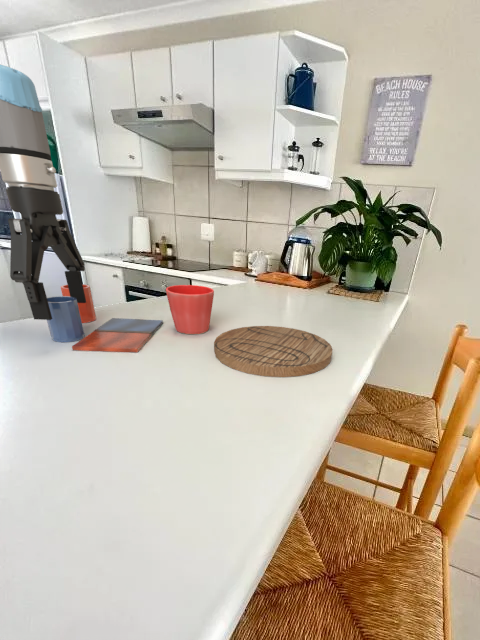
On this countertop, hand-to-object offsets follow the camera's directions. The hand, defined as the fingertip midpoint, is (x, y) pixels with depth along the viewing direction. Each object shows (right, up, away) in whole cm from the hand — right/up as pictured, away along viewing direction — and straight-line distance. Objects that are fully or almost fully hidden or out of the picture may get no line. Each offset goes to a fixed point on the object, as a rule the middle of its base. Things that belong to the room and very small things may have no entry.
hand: (62, 310), depth 65 cm
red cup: (-5, +1, +14) cm, 15 cm away
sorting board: (+9, -4, +7) cm, 12 cm away
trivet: (+42, -8, +4) cm, 43 cm away
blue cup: (-1, -5, +3) cm, 6 cm away
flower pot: (+22, -2, +14) cm, 26 cm away
